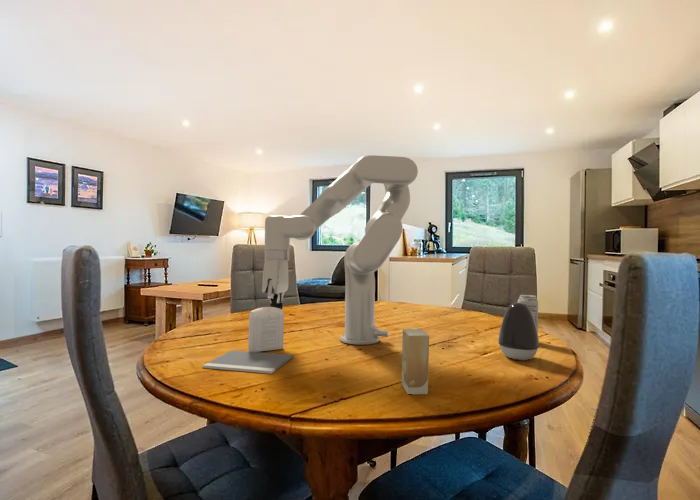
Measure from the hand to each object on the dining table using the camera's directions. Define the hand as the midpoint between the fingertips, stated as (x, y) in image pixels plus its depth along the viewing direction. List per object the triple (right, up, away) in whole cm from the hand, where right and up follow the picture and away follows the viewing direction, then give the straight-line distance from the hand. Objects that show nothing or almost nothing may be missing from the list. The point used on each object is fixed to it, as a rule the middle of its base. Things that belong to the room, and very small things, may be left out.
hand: (276, 315), depth 116 cm
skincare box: (+36, -9, -36) cm, 52 cm away
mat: (-3, -9, -19) cm, 21 cm away
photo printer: (-2, -9, -7) cm, 11 cm away
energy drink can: (+80, -10, +6) cm, 81 cm away
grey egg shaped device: (+69, -10, -12) cm, 71 cm away
